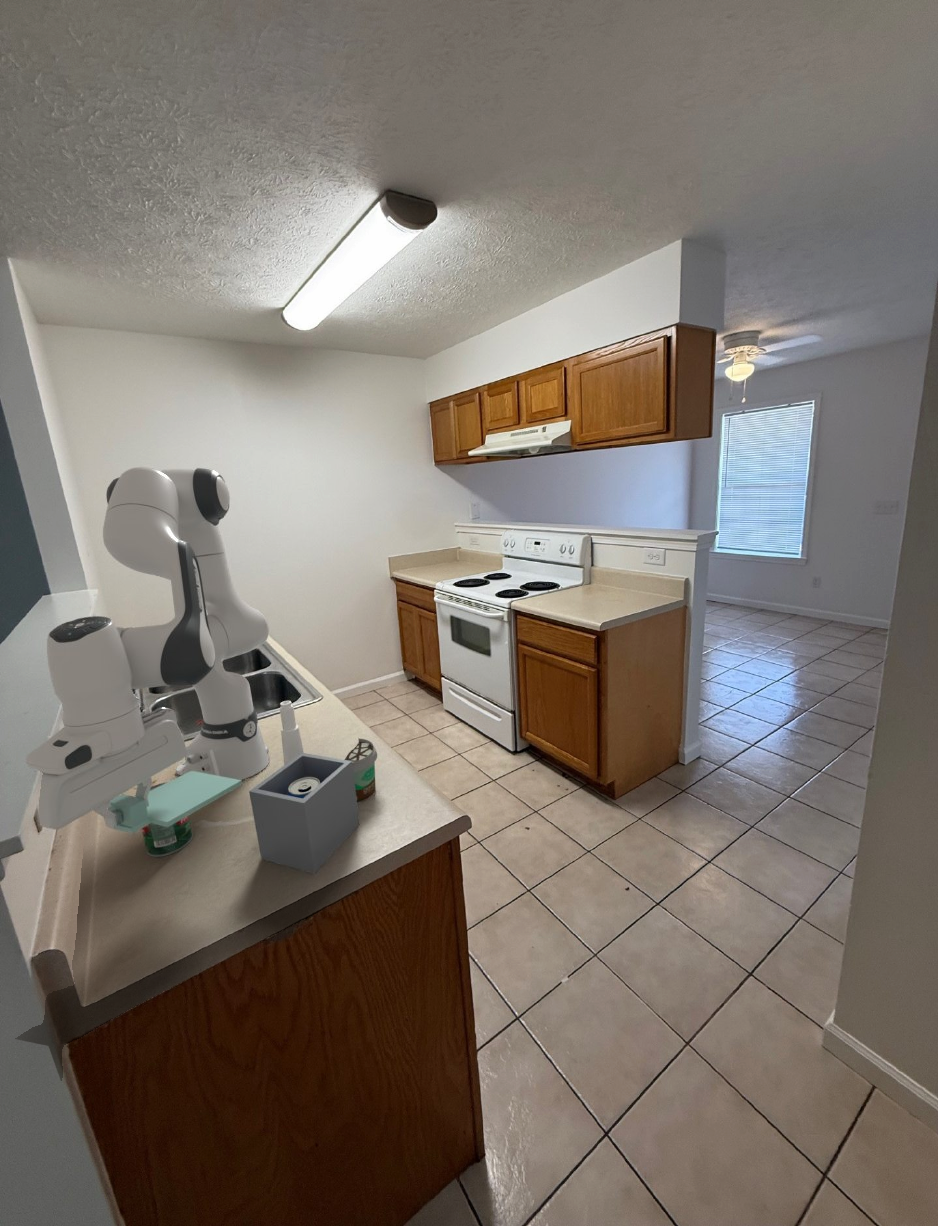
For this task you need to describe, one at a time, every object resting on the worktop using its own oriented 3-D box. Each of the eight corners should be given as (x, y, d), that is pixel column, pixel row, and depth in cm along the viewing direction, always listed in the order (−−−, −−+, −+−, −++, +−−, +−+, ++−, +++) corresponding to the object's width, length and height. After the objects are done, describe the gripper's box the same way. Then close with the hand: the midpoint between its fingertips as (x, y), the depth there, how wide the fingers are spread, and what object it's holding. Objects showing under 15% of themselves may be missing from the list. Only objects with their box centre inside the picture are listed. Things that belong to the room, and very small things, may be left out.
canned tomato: (140, 845, 98) (128, 795, 95) (183, 824, 104) (173, 777, 101) (155, 863, 93) (143, 810, 90) (199, 839, 99) (189, 790, 96)
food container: (368, 810, 105) (363, 767, 103) (340, 808, 106) (335, 765, 104) (388, 777, 117) (384, 738, 114) (364, 776, 118) (359, 737, 116)
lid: (93, 823, 76) (90, 798, 76) (191, 774, 92) (189, 753, 91) (148, 838, 72) (145, 811, 71) (242, 784, 87) (239, 762, 87)
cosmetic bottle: (304, 803, 109) (290, 709, 103) (280, 801, 110) (264, 707, 105) (319, 787, 114) (306, 697, 109) (295, 785, 116) (281, 696, 111)
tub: (261, 858, 92) (249, 791, 89) (310, 813, 105) (301, 752, 102) (314, 873, 88) (303, 802, 85) (359, 824, 101) (351, 761, 97)
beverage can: (296, 857, 92) (287, 799, 90) (293, 836, 98) (284, 781, 95) (332, 845, 95) (324, 789, 92) (327, 826, 101) (319, 772, 98)
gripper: (158, 700, 83) (175, 776, 86) (10, 764, 64) (39, 857, 67) (186, 704, 80) (202, 781, 83) (40, 770, 62) (68, 867, 65)
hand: (128, 816), depth 75 cm, fingers closed on lid, 3 cm apart
